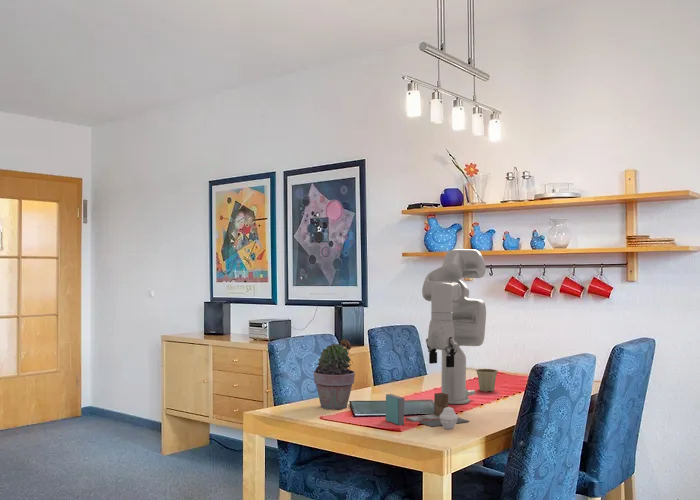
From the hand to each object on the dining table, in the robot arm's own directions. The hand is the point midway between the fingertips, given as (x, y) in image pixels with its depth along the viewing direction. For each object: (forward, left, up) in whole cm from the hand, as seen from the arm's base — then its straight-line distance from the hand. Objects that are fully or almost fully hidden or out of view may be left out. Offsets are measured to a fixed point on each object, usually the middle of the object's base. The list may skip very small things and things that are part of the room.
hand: (441, 365), depth 245 cm
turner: (+6, 0, -18) cm, 19 cm away
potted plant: (+27, -31, -18) cm, 45 cm away
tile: (+20, 0, -18) cm, 27 cm away
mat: (+5, +8, -18) cm, 20 cm away
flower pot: (-49, -31, -18) cm, 61 cm away
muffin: (+8, +15, -18) cm, 25 cm away
